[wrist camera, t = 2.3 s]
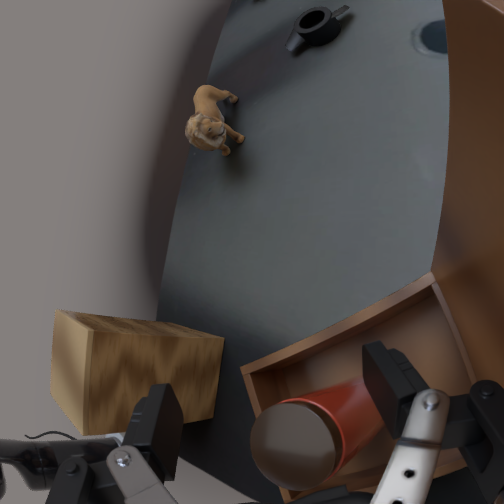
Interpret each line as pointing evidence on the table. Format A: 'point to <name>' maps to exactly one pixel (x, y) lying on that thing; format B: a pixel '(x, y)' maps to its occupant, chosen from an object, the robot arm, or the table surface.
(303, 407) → the spice jar
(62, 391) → the cork trivet
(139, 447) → the robot arm
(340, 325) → the wooden box
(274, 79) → the table surface
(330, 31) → the duct tape
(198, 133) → the lion figurine
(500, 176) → the box lid
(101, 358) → the oak stand
